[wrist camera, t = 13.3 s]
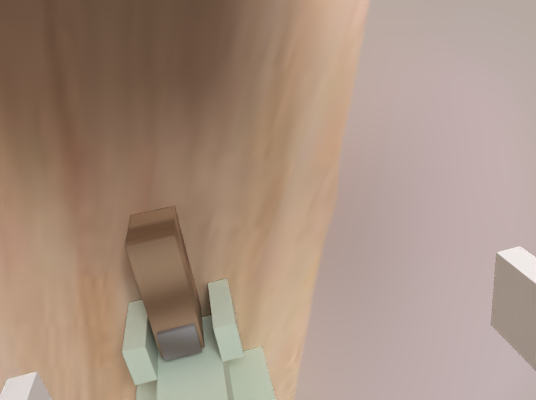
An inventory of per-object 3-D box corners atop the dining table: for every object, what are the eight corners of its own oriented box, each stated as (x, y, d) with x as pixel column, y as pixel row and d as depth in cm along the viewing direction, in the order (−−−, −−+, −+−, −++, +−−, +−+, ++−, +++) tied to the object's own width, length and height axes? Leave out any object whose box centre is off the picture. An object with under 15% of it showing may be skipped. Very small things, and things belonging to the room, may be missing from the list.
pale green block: (108, 307, 44) (83, 429, 32) (246, 273, 46) (273, 377, 33) (142, 392, 50) (132, 525, 37) (265, 359, 51) (295, 476, 39)
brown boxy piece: (131, 214, 41) (124, 250, 35) (174, 205, 41) (174, 239, 36) (162, 316, 46) (161, 361, 40) (200, 306, 47) (205, 351, 41)
